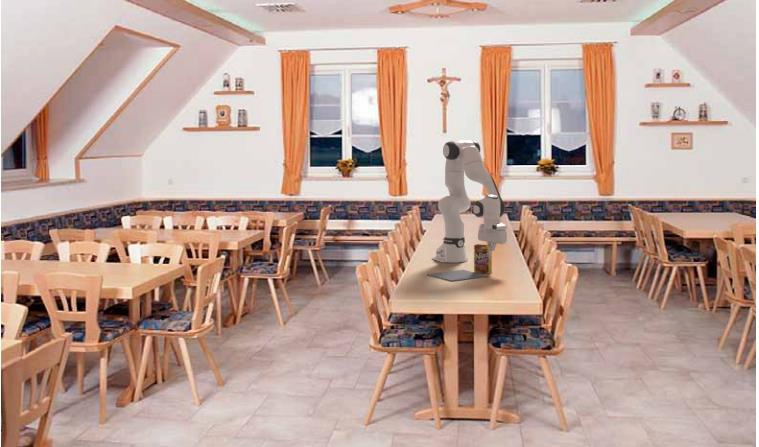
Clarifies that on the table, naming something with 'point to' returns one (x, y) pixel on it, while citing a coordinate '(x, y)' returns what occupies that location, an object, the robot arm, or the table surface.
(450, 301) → the table surface
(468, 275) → the mat
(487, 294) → the table surface
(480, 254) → the candy box
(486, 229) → the robot arm
